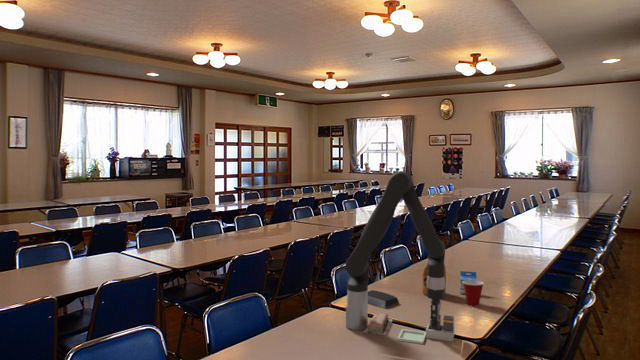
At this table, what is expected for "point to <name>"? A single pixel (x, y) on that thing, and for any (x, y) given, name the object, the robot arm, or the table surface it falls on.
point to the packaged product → (379, 324)
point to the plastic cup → (473, 291)
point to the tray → (412, 336)
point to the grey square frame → (442, 330)
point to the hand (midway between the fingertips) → (435, 324)
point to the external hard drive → (381, 299)
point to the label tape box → (466, 277)
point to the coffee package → (426, 279)
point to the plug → (437, 323)
